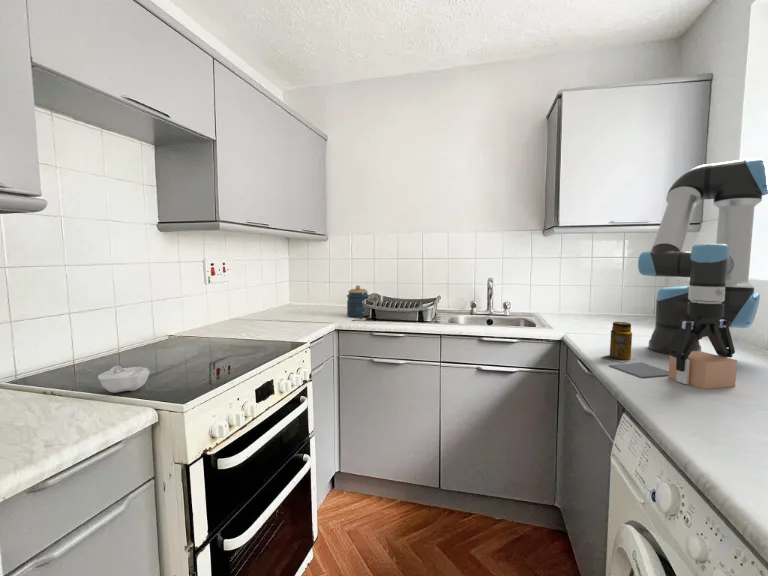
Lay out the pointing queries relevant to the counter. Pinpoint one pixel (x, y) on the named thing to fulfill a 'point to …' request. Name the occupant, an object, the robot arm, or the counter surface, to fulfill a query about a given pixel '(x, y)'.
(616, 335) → the condiment
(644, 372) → the mat
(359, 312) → the canister
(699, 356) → the salmon tan box
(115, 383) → the cell model
